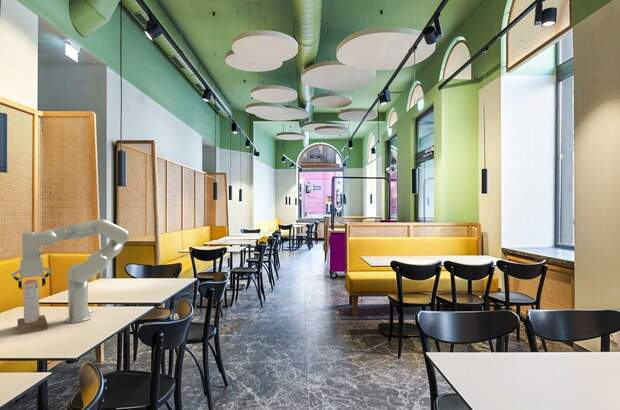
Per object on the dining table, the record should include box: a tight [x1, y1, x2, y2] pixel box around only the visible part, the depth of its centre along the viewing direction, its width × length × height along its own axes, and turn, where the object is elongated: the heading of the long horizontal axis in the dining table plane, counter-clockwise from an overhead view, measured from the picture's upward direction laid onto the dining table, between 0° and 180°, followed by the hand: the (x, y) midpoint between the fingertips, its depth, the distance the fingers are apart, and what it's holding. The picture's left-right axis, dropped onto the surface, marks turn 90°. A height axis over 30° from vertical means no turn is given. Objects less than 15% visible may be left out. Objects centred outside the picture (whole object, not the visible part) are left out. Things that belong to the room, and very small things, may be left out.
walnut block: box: [17, 314, 48, 335], centre depth 206 cm, size 18×12×4 cm, turn 38°
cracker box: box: [22, 278, 40, 324], centre depth 206 cm, size 14×6×21 cm, turn 31°
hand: (32, 287), depth 207 cm, fingers open, 9 cm apart
